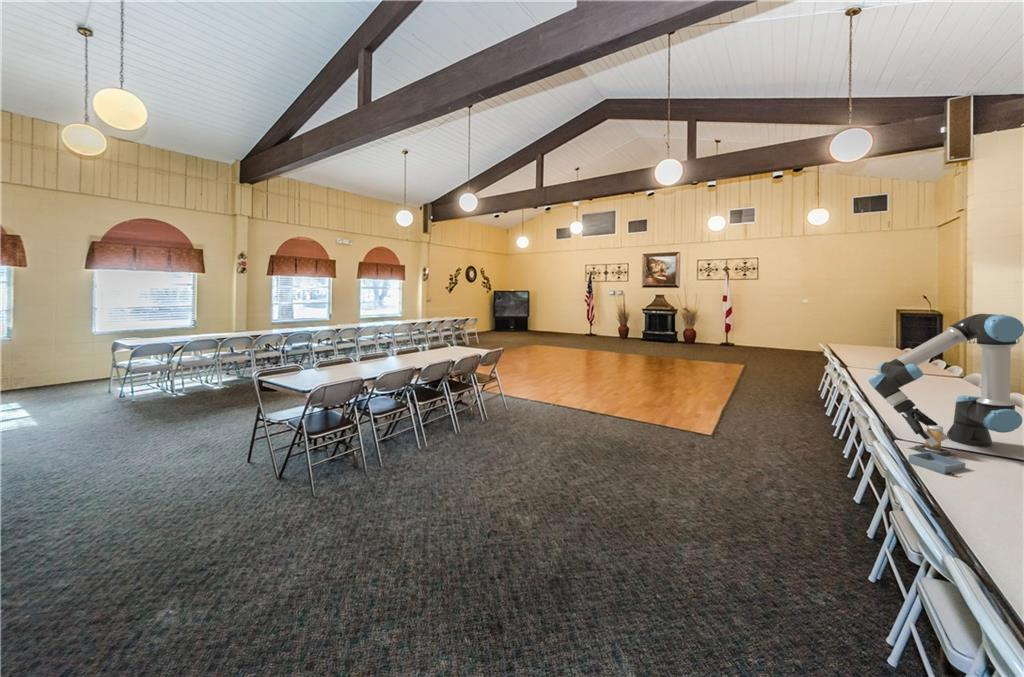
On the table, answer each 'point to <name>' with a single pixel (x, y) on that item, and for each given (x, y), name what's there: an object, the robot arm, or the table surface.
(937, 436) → the ball
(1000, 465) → the table surface
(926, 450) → the block
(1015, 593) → the table surface
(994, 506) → the table surface
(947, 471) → the parts tray
